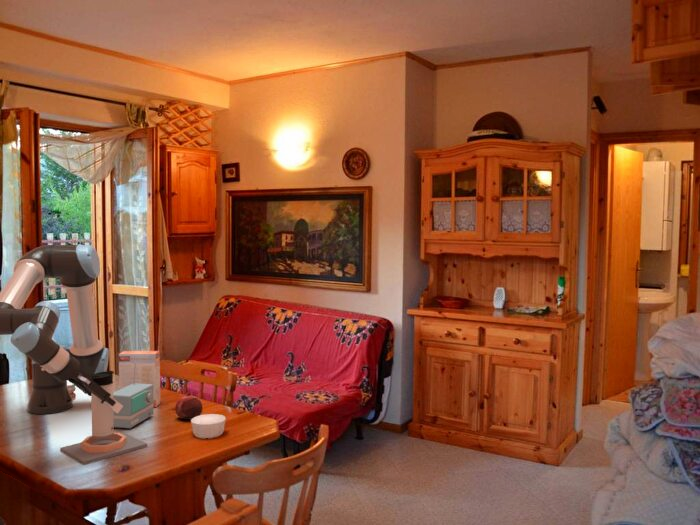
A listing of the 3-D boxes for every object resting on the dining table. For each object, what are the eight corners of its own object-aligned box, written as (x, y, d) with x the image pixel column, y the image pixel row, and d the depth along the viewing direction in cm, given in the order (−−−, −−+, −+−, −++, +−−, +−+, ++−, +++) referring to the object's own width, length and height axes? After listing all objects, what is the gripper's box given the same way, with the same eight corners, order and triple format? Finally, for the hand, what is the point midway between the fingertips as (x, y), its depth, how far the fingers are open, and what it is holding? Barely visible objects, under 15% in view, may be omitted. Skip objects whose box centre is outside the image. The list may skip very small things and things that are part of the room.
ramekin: (185, 433, 206) (185, 417, 206) (215, 426, 214) (215, 411, 213) (200, 442, 198) (200, 426, 198) (231, 435, 205) (231, 419, 205)
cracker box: (161, 403, 240) (160, 350, 239) (155, 408, 234) (155, 353, 233) (125, 403, 240) (124, 349, 239) (119, 407, 234) (118, 353, 233)
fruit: (199, 422, 218) (199, 394, 217) (172, 422, 218) (172, 394, 217) (205, 414, 227) (205, 387, 226) (179, 414, 227) (179, 387, 226)
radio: (133, 431, 208) (132, 372, 207) (109, 429, 210) (107, 371, 209) (156, 416, 224) (156, 362, 223) (134, 415, 226) (133, 361, 225)
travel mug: (118, 436, 192) (117, 372, 190) (98, 441, 187) (96, 376, 185) (108, 431, 196) (107, 369, 195) (88, 436, 191) (87, 372, 190)
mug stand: (60, 451, 190) (60, 441, 189) (122, 434, 204) (121, 425, 204) (83, 464, 179) (83, 454, 179) (147, 446, 194) (147, 437, 193)
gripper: (37, 369, 185) (92, 411, 198) (65, 380, 172) (121, 424, 185) (55, 349, 189) (107, 391, 202) (83, 358, 176) (137, 403, 189)
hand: (114, 407), depth 193 cm, fingers closed on travel mug, 6 cm apart
